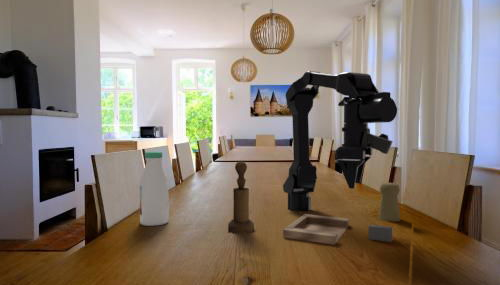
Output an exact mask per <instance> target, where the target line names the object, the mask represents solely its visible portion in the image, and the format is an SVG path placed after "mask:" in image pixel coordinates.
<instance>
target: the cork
mask: <svg viewBox="0 0 500 285" xmlns="http://www.w3.org/2000/svg"><path fill="white" fill-rule="evenodd" d="M379 190H380V191H379V192H380V193H381V194H380V195H381V198H380V199H381V200H380V205H379V213H378V219H379V220H380V221H386V222H400V221H401V215H400V205H399V197H398V195H399V194H400V186H399V184H397V183H393V182H383V183H381V184H380V186H379Z"/></svg>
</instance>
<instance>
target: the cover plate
mask: <svg viewBox="0 0 500 285" xmlns="http://www.w3.org/2000/svg"><path fill="white" fill-rule="evenodd" d="M367 235H368V239H367V240H374V241H381V242H387V243H388V242H389V243H392V242H393V227H392V226H385V225H375V224H368V234H367Z"/></svg>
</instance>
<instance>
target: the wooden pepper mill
mask: <svg viewBox="0 0 500 285" xmlns="http://www.w3.org/2000/svg"><path fill="white" fill-rule="evenodd" d="M234 169H235V171H236V174H237V176H238V177H237V179H236V182H237V187H234V188H233V191H232V192H233V212H232V213H233V216H232V217H233V219H231V220H230V221H229V222H228V226H227V231H228V233H236V234H247V233H251V232H253V231H255V223H254V222H253V221H252V220H251V219H250V213H249V212H250V207H249V206H250V189H249V187H246V186H245V185H246V182H247V180H246V179H245V174H246V172H247V169H248V166H247V163H246V162H245V161H237V162H236V163H235V166H234Z"/></svg>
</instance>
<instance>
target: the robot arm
mask: <svg viewBox="0 0 500 285" xmlns="http://www.w3.org/2000/svg"><path fill="white" fill-rule="evenodd" d="M308 86H311V88H310V87H308ZM320 87H324V88H329V89H333V90H335V91H336V92H337V93H338V94H340V95H342V96H343V98H342V99H341V100H340V101H339V102H338V104H337V105H338V106H339V107H343V127H341V132H343V143H342V144H341V145H340V146H338V148H336V149H335V150H334V154H335V155H334V158H335V159H336V162H337V164H338V165H339V168H340V170H341V172H342V174H343V177H344V179H345V181H346V182H345V183H347V186H348V188H349V189H351V190H352V189H355V185H356V184H361V181H362V176H363V172H364V169H365V164H366V163H367V162H368V160H370V159H371V158H372V156H373V150H376V151H380V153H382V154H386V155H387V154H389V151H390V149H391V147H392V144H393V141H392V140H390V139H389V135H388V134H385V133H381V134H380V135H376V134H373V133H371V129H370V128H369V126H368V125H369V124H375V123H377V124H378V123H380V124H381V123H392V122H393V121H394V120H395V119H396V117H397V114H398V106H397V104H396V101H395V100H394V99H393V98H392V97H391V92H390V91H381V92H380V91H379V90H378V89H377V86H376V84H374V82H373V79H372V77H371V74H368V73H360V72H351V71H347V72H346V71H345V72H341V73H338V74H331V73H323V72H320V71H313V70H312V71H311V70H310V71H309V70H308V71H306V72H305V71H304V74H303V75H302V76H301V77H299V78H298V79H297V80H295V81H294V82H292V83H291V85H290V86H289V87H288V89H287V90H286V93H285V99H286V100H285V101H286V107H287V109H288V110H289V112H290V114H291V115H292V116H291V117H292V143H293V144H292V147H293V148H292V149H293V161H292V162H291V165H290V167H289V169H288V176H287V178H286V179H285V182H284V183H283V184H282V190H283V192H284V193H285V194H287V210H290V211H294V212H309V211H311V210H312V200H311V199H312V196H310V193H314V191H315V187H316V184H317V179H318V175H317V171H318V170H317V169H318V168H317V166H316V165H313V164H312V161H311V160H310V132H309V113H311V110H312V109H313V106H314V100H315V99H316V98H317V96H318V95H319V88H320ZM367 155H368V156H367Z"/></svg>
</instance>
